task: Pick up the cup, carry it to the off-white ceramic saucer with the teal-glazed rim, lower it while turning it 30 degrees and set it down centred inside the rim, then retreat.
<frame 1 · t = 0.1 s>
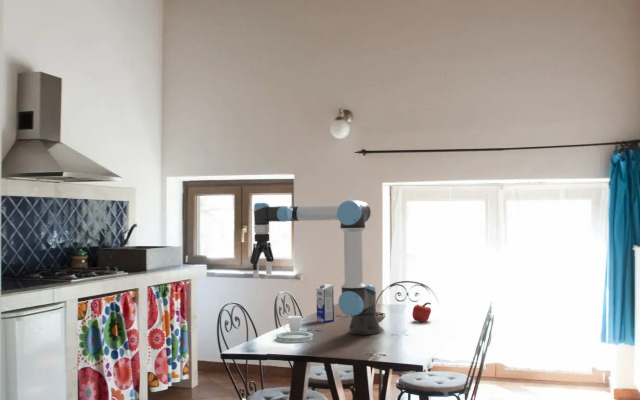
hand: (262, 275, 326), 28 cm above the table, fingers open, 13 cm apart
saucer: (294, 339, 303), on the table
vegetable: (422, 321, 346), on the table
cup: (292, 333, 319), on the table
milk carton: (325, 321, 352), on the table
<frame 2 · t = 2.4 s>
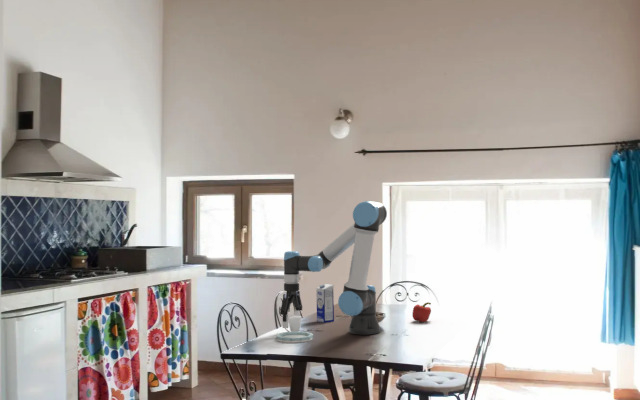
hand: (291, 325, 319), 3 cm above the table, fingers open, 13 cm apart
nothing on the table moved.
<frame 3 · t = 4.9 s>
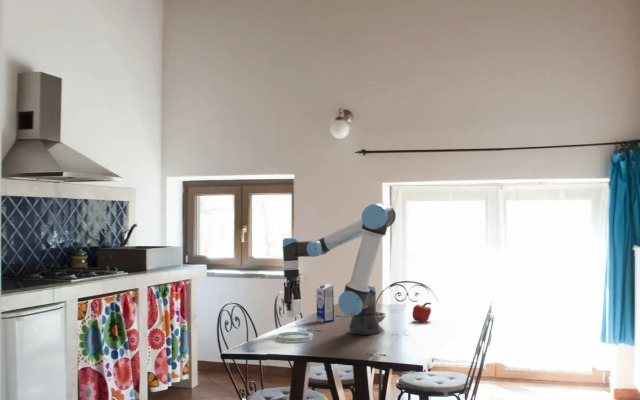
hand: (293, 315, 319), 8 cm above the table, fingers closed on cup, 7 cm apart
cup: (293, 316, 319), point 8 cm above the table, touching gripper
everything else where it was.
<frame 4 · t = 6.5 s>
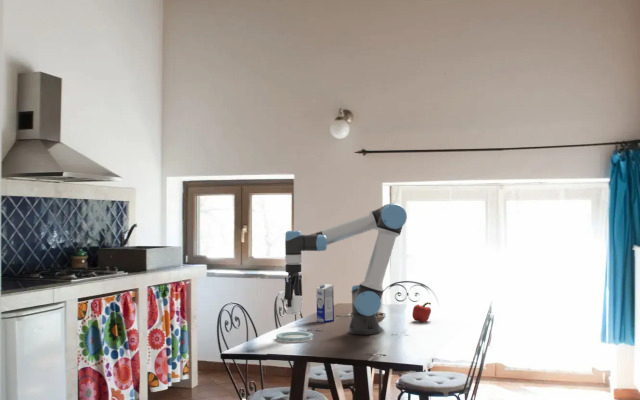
hand: (293, 312, 303), 12 cm above the table, fingers closed on cup, 7 cm apart
cup: (293, 313, 304), point 12 cm above the table, touching gripper
everything else where it was.
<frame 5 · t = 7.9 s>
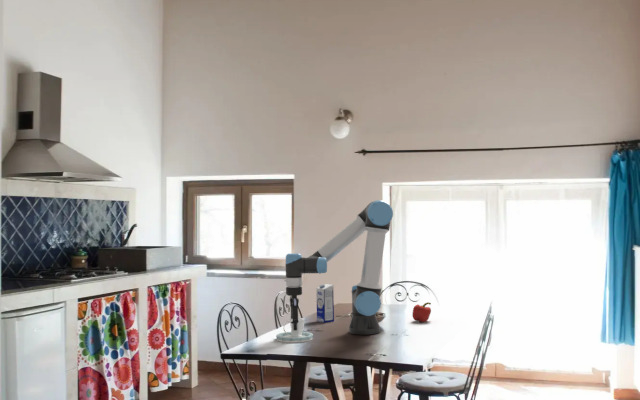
hand: (294, 335, 303), 2 cm above the table, fingers closed on cup, 7 cm apart
cup: (294, 336, 303), point 1 cm above the table, touching gripper
everything else where it was.
when the fingers open (1 cm above the table, at t = 8.6 s): cup moves 3 cm, resting on saucer.
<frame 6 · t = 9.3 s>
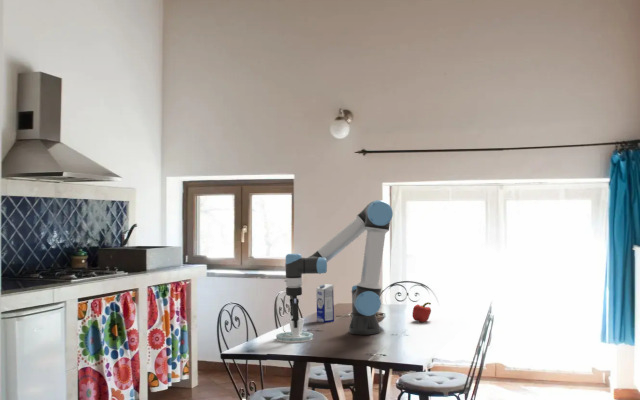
hand: (294, 332, 303), 3 cm above the table, fingers open, 13 cm apart
cup: (293, 336, 306), point 1 cm above the table, touching saucer
everything else where it was.
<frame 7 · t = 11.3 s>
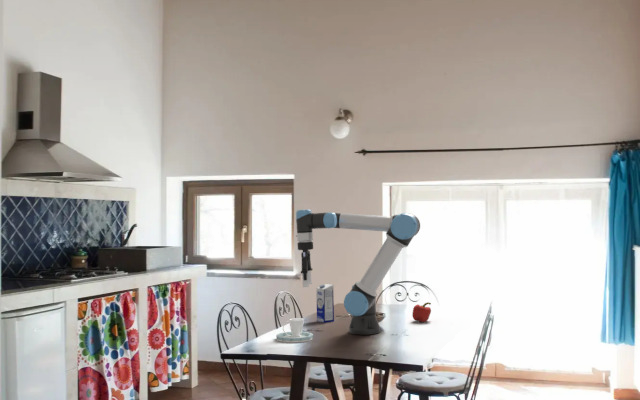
hand: (307, 285, 312), 24 cm above the table, fingers open, 13 cm apart
nothing on the table moved.
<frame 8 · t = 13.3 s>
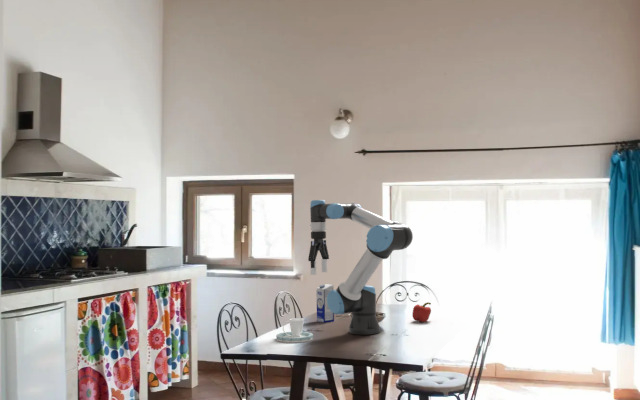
hand: (319, 273, 324), 29 cm above the table, fingers open, 13 cm apart
nothing on the table moved.
at the end: cup 2.5 cm from the saucer (horizontally); cup tilted 0°; cup point 0.6 cm above the table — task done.
